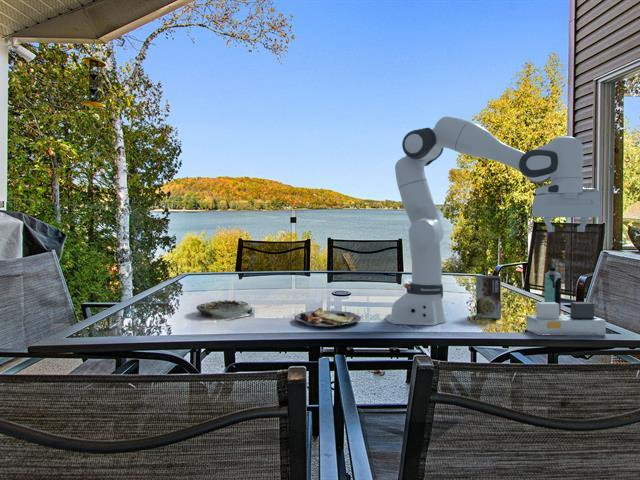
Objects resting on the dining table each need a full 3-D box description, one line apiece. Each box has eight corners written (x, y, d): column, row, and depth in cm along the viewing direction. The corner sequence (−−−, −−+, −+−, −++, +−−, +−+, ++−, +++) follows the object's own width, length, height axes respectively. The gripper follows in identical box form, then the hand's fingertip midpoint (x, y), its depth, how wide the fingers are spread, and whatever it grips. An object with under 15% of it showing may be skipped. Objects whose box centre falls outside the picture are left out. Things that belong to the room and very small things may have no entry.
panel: (540, 330, 141) (541, 303, 141) (536, 328, 144) (536, 302, 144) (558, 330, 141) (559, 303, 141) (553, 328, 144) (554, 302, 144)
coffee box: (501, 316, 169) (501, 275, 168) (500, 319, 163) (501, 277, 162) (477, 314, 173) (477, 274, 172) (475, 317, 167) (475, 276, 166)
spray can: (562, 321, 158) (563, 268, 157) (546, 321, 159) (547, 268, 159) (557, 318, 164) (558, 267, 163) (542, 317, 165) (542, 266, 164)
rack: (538, 335, 138) (538, 305, 138) (526, 329, 147) (526, 300, 146) (606, 335, 138) (606, 305, 138) (590, 329, 146) (590, 300, 146)
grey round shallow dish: (206, 325, 157) (206, 312, 157) (176, 315, 178) (176, 303, 178) (268, 314, 176) (268, 302, 176) (235, 306, 196) (234, 295, 196)
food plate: (282, 321, 161) (282, 312, 160) (323, 312, 178) (323, 304, 178) (332, 334, 144) (332, 324, 144) (372, 323, 161) (372, 314, 161)
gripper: (593, 188, 137) (592, 231, 137) (529, 189, 137) (529, 231, 138) (606, 187, 131) (605, 231, 131) (539, 187, 131) (539, 232, 131)
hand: (565, 231), depth 134 cm, fingers open, 8 cm apart
